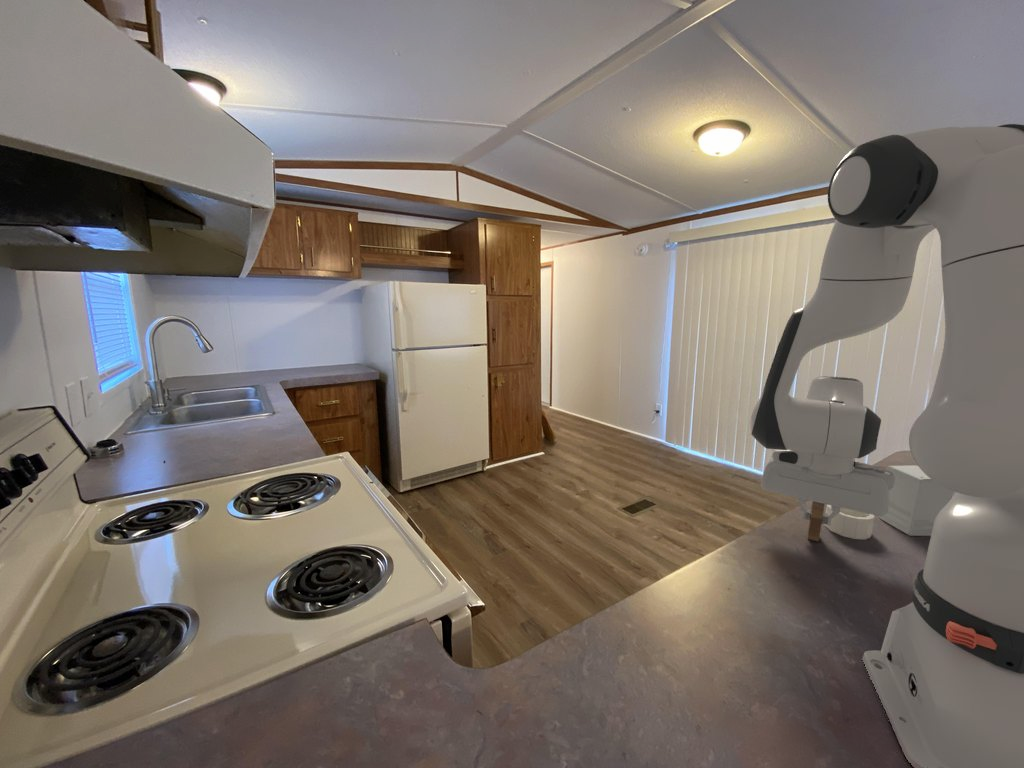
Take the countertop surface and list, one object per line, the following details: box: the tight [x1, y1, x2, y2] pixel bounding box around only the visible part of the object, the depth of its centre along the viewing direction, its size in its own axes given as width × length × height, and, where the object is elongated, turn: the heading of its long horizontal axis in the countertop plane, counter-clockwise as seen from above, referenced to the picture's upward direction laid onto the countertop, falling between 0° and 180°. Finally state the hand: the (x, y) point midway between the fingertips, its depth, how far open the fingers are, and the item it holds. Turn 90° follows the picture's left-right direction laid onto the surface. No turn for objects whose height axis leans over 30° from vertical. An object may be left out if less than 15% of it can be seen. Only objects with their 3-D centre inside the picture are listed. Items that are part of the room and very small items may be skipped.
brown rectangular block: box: [807, 501, 826, 543], centre depth 82 cm, size 3×2×10 cm, turn 144°
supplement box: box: [878, 465, 954, 537], centre depth 86 cm, size 7×7×13 cm
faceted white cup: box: [823, 504, 875, 540], centre depth 86 cm, size 8×8×4 cm
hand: (815, 520), depth 82 cm, fingers closed on brown rectangular block, 2 cm apart
